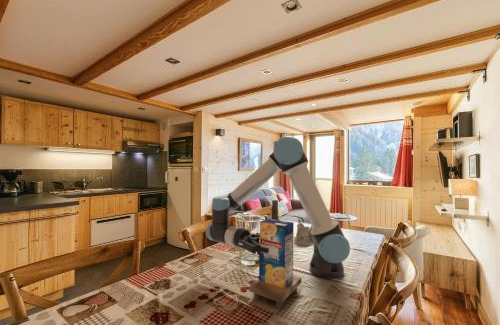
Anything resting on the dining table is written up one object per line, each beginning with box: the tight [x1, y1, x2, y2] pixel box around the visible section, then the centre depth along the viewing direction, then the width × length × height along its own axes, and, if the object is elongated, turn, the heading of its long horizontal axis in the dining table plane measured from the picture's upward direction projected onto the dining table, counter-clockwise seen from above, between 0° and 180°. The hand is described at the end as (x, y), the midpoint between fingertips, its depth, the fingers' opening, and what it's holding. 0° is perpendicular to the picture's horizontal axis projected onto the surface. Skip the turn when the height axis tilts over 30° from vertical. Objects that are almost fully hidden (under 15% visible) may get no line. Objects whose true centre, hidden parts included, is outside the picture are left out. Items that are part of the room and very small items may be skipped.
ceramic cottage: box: [293, 217, 314, 247], centre depth 155 cm, size 16×16×15 cm
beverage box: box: [258, 218, 295, 289], centre depth 91 cm, size 7×11×22 cm, turn 54°
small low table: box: [248, 274, 302, 310], centre depth 90 cm, size 17×13×5 cm
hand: (285, 247), depth 88 cm, fingers open, 12 cm apart
